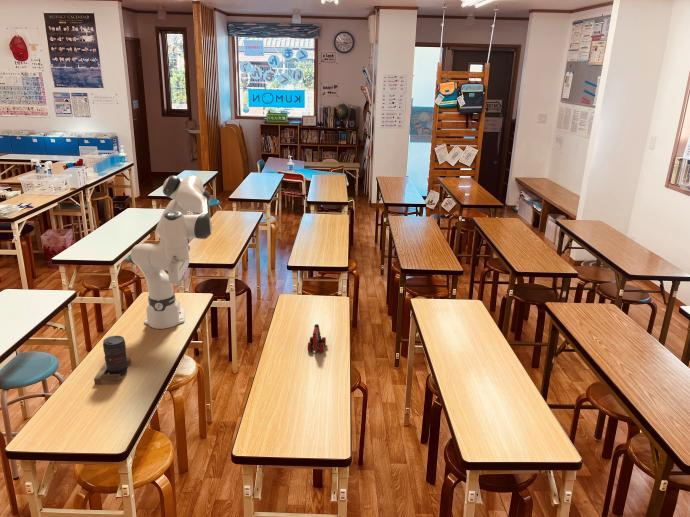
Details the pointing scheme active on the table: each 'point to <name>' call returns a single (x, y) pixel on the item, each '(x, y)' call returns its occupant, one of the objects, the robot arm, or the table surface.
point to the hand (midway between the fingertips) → (180, 284)
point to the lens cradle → (108, 375)
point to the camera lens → (115, 355)
